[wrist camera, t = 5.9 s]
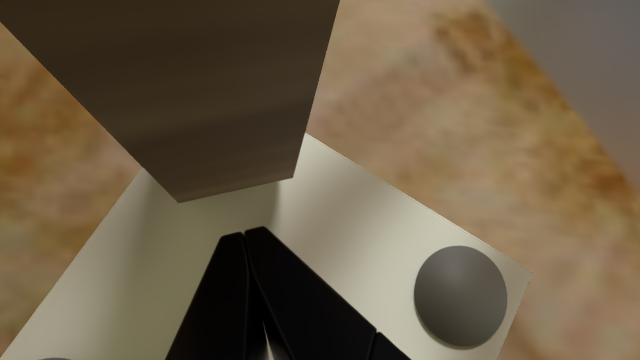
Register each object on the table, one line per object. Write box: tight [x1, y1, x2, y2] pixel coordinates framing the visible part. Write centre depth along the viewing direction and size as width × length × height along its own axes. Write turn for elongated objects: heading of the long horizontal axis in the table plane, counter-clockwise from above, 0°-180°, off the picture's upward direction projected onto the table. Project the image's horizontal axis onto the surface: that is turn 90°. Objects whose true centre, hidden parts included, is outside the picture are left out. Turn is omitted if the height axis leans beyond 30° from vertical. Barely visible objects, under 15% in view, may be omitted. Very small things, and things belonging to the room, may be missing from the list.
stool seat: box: [0, 133, 533, 360], centre depth 14 cm, size 13×13×3 cm
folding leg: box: [0, 0, 340, 203], centre depth 7 cm, size 3×3×12 cm
